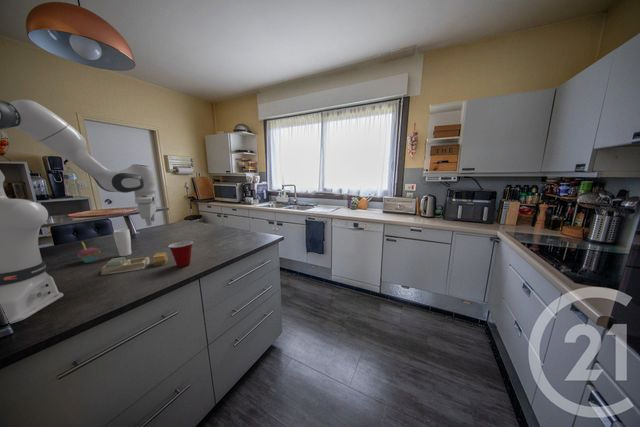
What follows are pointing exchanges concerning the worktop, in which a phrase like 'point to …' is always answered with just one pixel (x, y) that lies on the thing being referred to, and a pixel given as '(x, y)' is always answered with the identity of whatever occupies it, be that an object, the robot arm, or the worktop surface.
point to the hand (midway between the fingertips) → (151, 223)
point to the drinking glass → (123, 241)
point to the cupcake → (88, 254)
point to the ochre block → (160, 259)
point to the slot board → (124, 265)
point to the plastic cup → (181, 252)
